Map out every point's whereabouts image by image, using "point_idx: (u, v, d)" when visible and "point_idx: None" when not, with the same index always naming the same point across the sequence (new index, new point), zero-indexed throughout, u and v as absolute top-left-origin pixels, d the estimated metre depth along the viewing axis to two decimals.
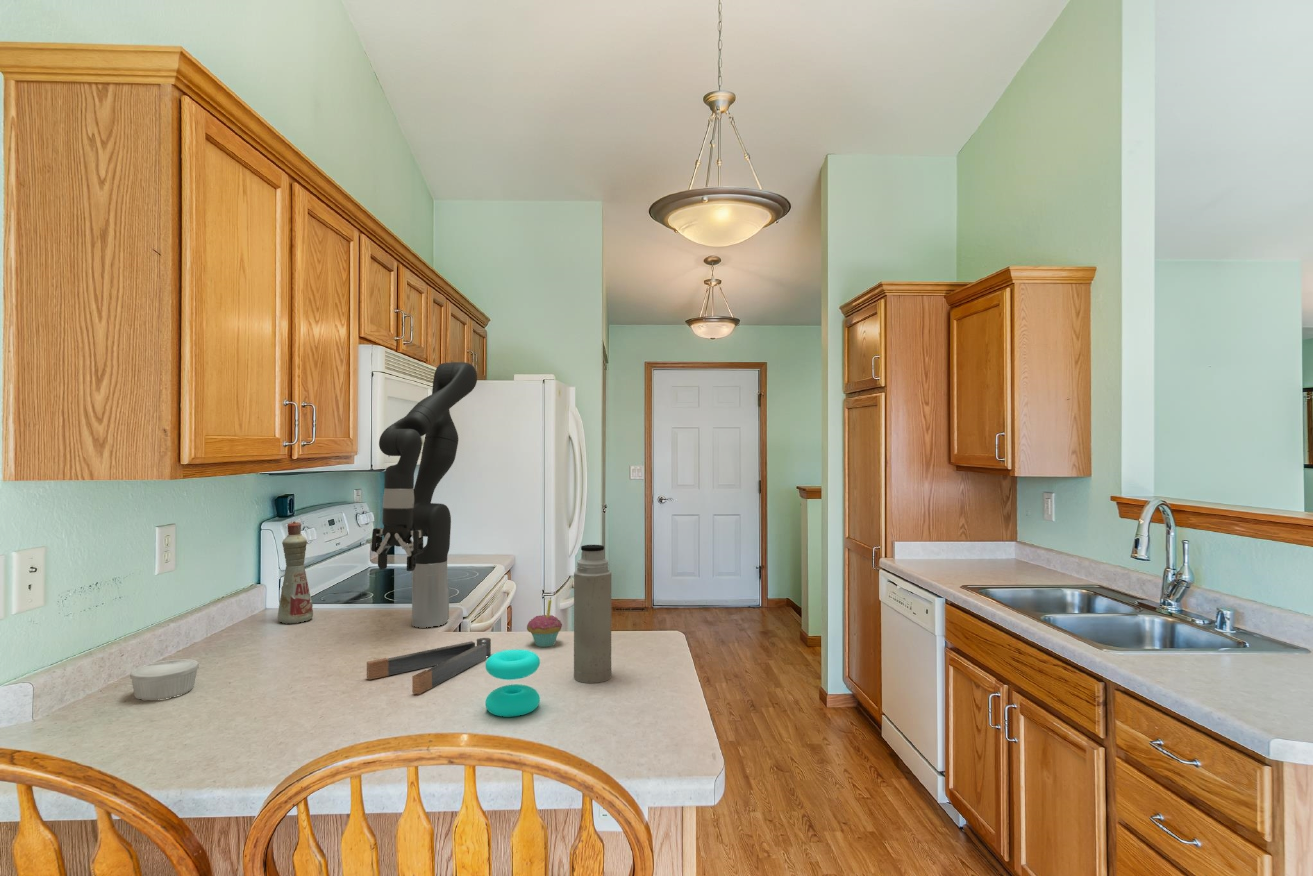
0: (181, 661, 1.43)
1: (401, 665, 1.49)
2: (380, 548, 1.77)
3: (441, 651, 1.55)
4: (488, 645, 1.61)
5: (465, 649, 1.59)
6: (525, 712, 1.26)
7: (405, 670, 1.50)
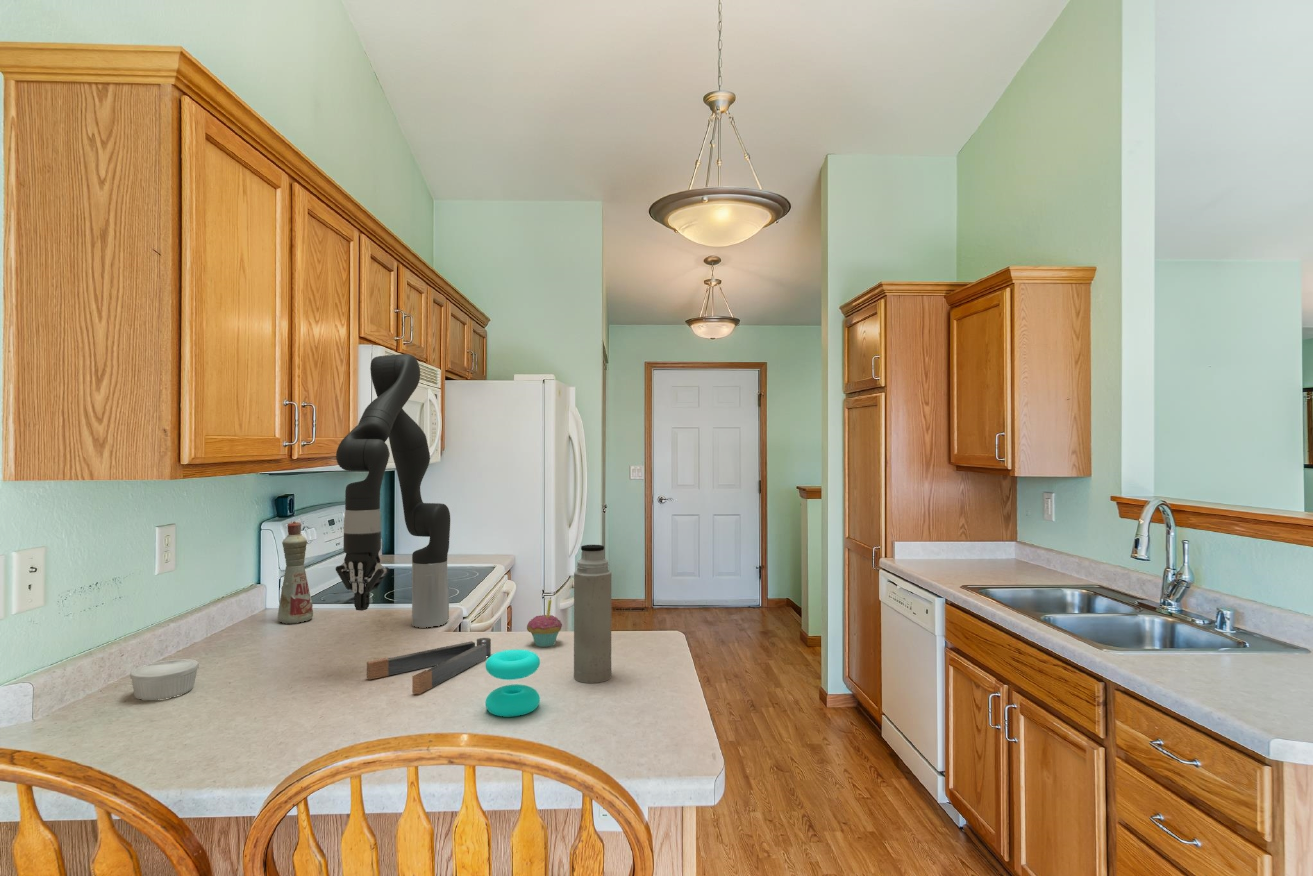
0: (181, 661, 1.43)
1: (401, 665, 1.49)
2: (353, 585, 1.50)
3: (441, 651, 1.55)
4: (488, 645, 1.61)
5: (465, 649, 1.59)
6: (525, 712, 1.26)
7: (405, 670, 1.50)
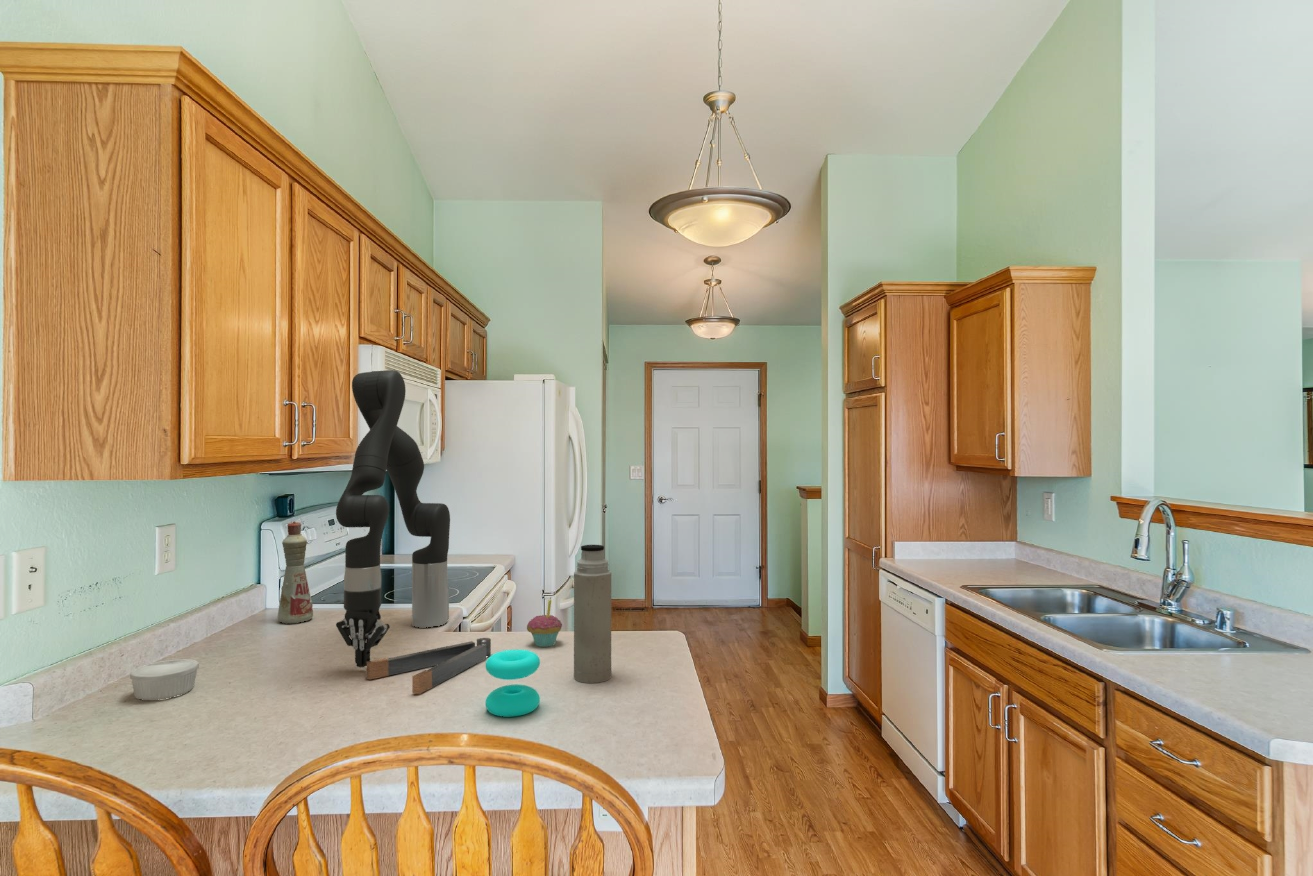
0: (181, 661, 1.43)
1: (401, 665, 1.49)
2: (354, 642, 1.50)
3: (441, 651, 1.55)
4: (488, 645, 1.61)
5: (465, 649, 1.59)
6: (525, 712, 1.26)
7: (405, 670, 1.50)
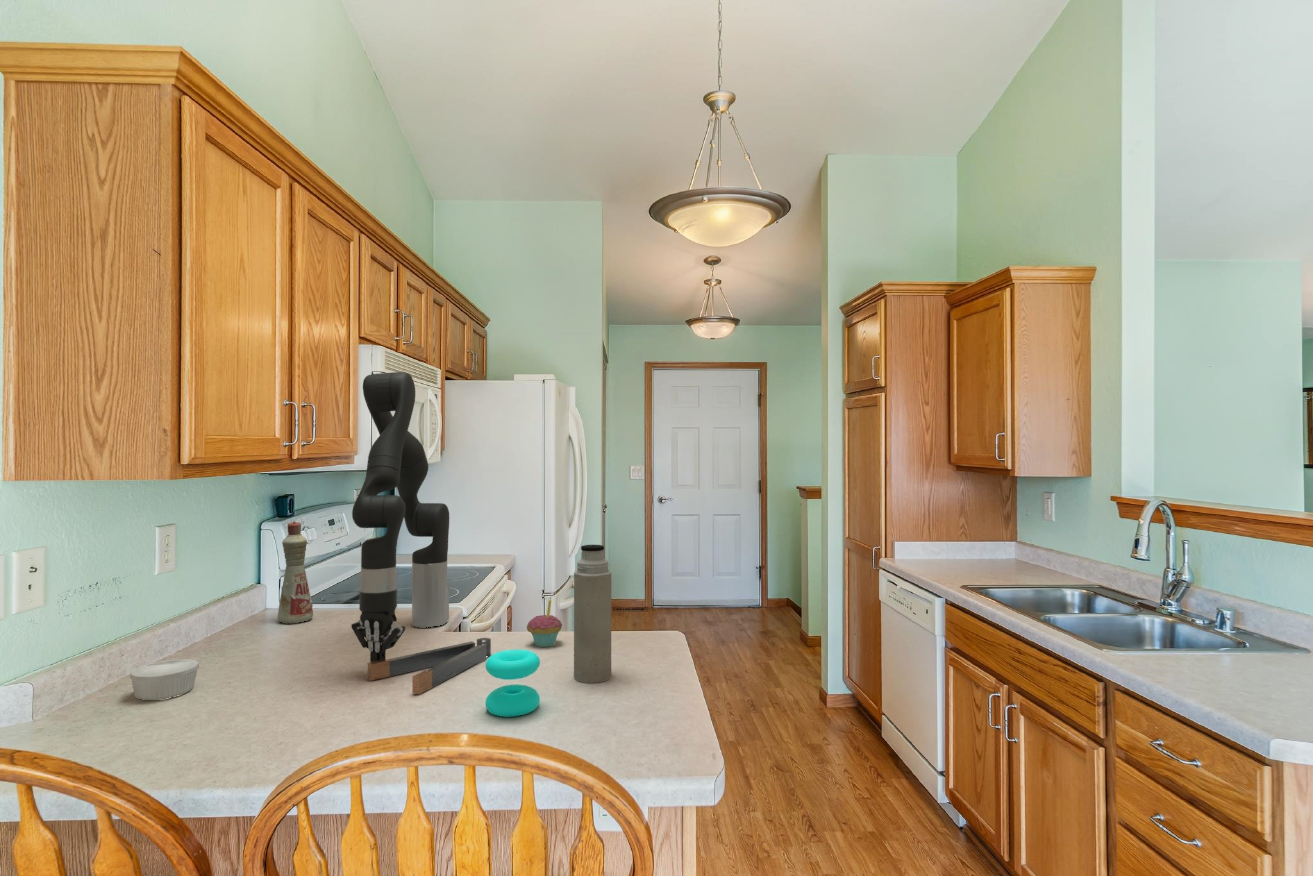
0: (181, 661, 1.43)
1: (402, 665, 1.49)
2: (369, 643, 1.48)
3: (442, 651, 1.55)
4: (488, 645, 1.61)
5: (465, 649, 1.59)
6: (525, 712, 1.26)
7: (406, 671, 1.49)
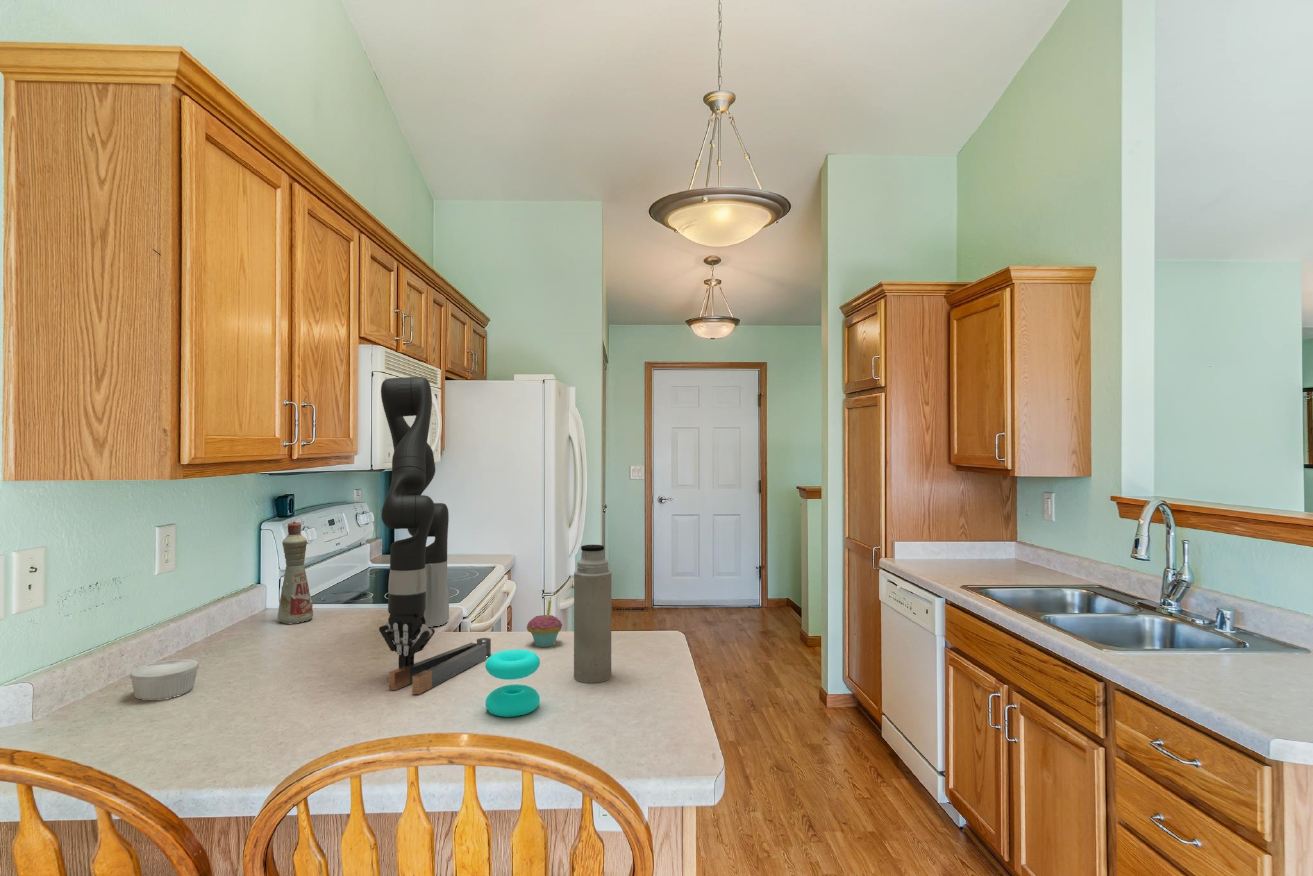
0: (181, 661, 1.43)
1: None
2: (398, 647, 1.45)
3: (451, 654, 1.53)
4: (488, 645, 1.61)
5: None
6: (525, 712, 1.26)
7: None
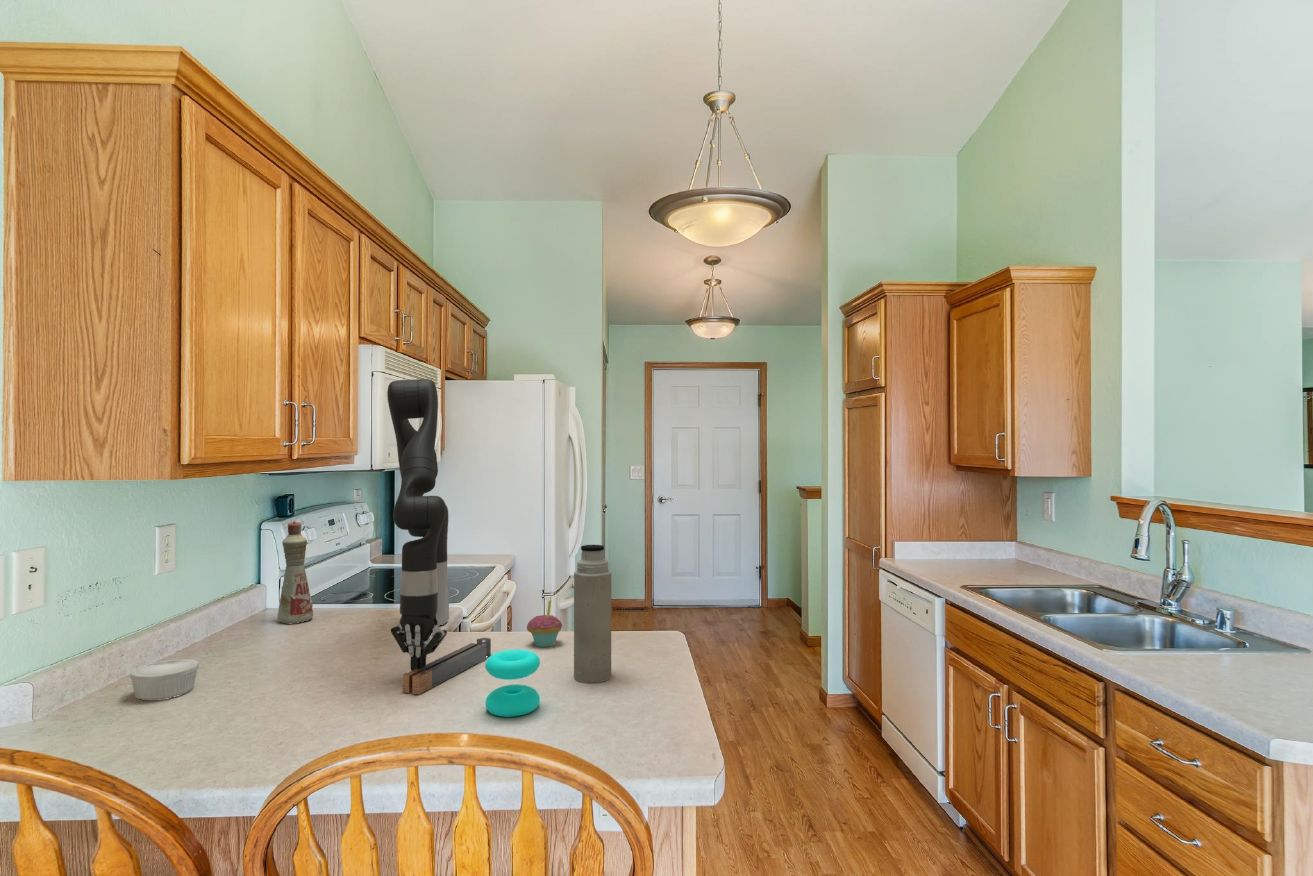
0: (181, 661, 1.43)
1: None
2: (410, 648, 1.44)
3: (456, 655, 1.52)
4: (488, 645, 1.61)
5: None
6: (525, 712, 1.26)
7: None
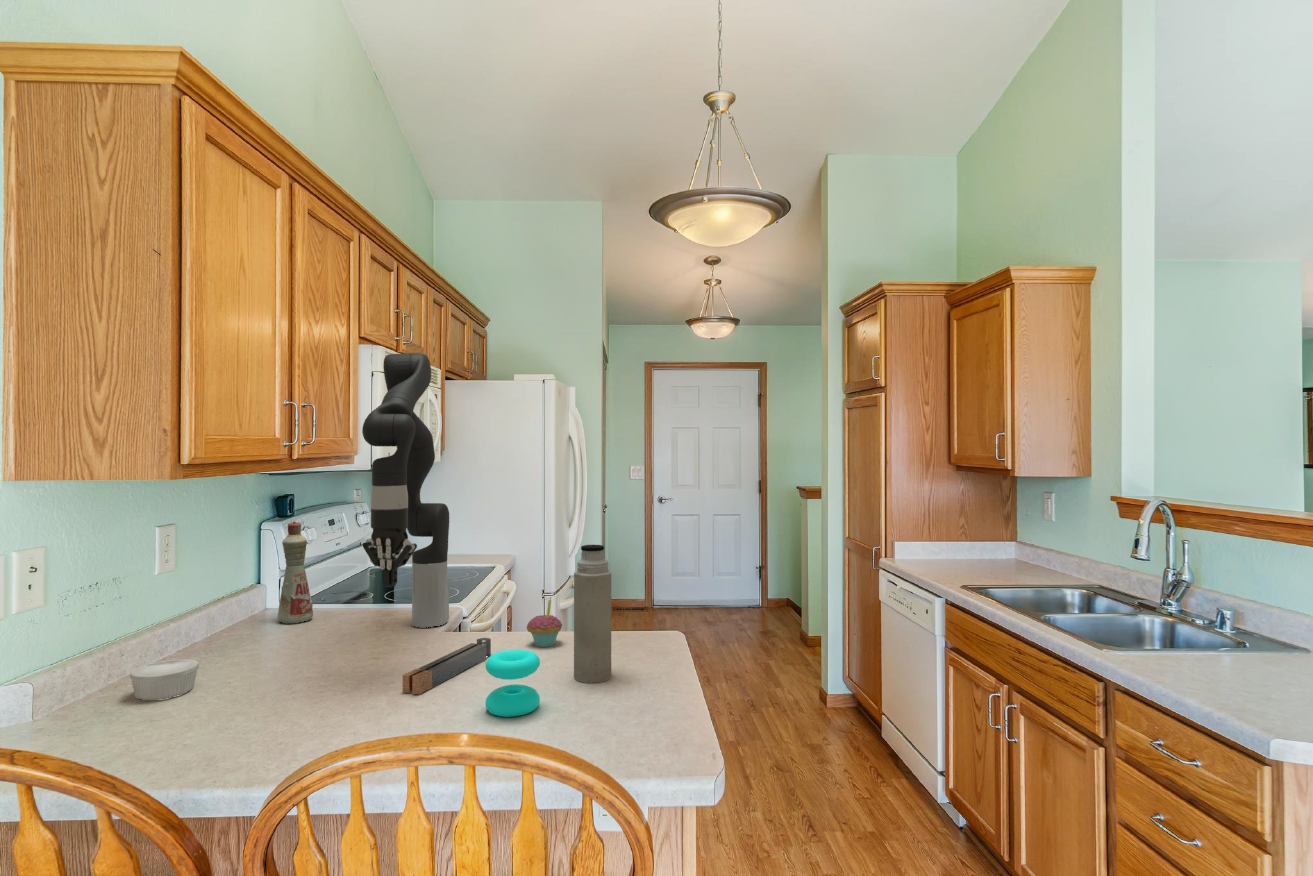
0: (181, 661, 1.43)
1: None
2: (381, 561, 1.48)
3: (456, 655, 1.52)
4: (488, 645, 1.61)
5: None
6: (525, 712, 1.26)
7: None
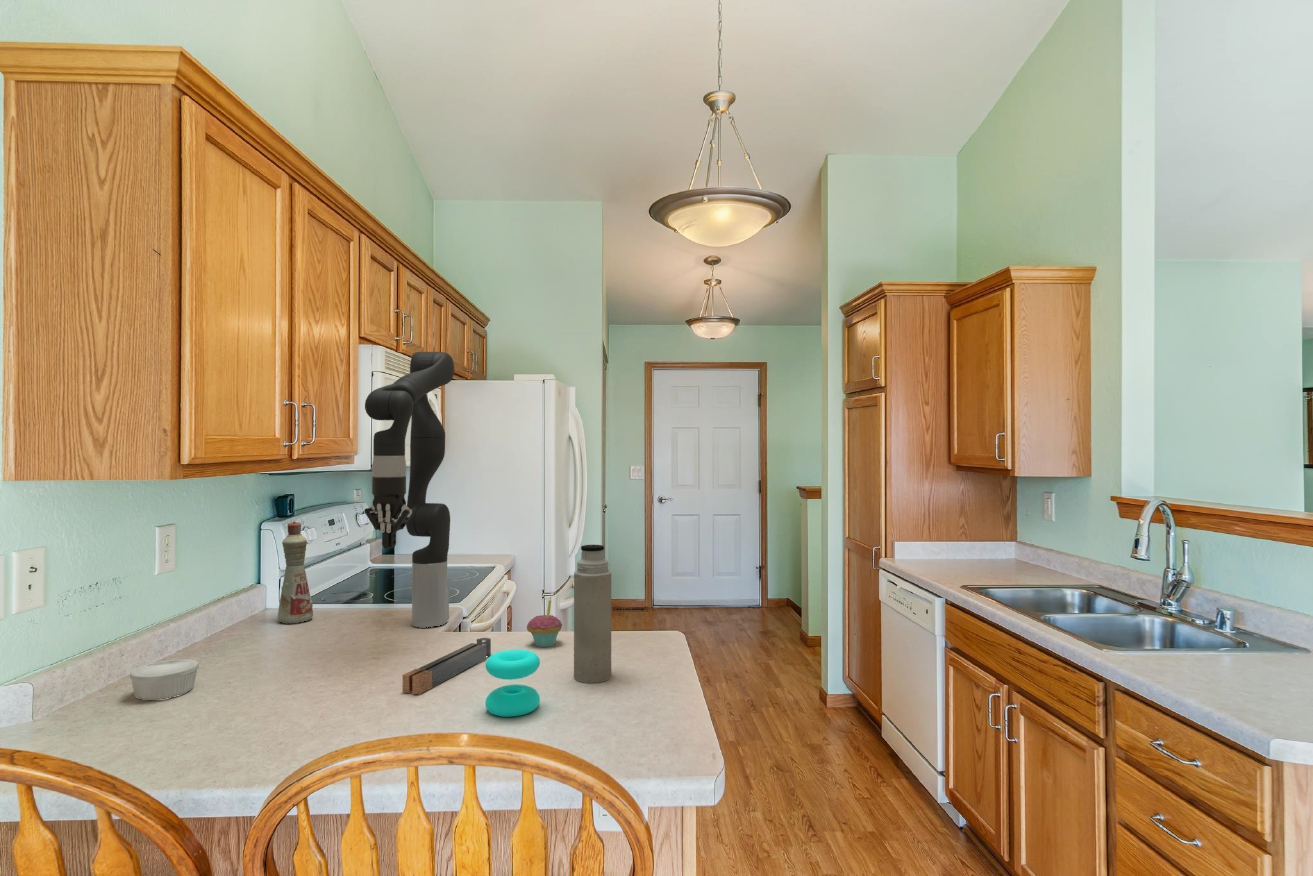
0: (181, 661, 1.43)
1: None
2: (381, 525, 1.62)
3: (456, 655, 1.52)
4: (488, 645, 1.61)
5: None
6: (525, 712, 1.26)
7: None
